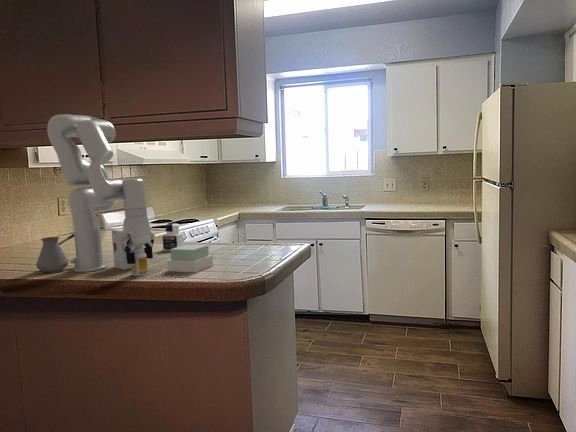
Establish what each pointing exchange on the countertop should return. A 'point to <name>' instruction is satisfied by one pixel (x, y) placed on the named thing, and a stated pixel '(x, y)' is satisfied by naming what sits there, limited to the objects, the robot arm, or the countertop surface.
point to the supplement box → (120, 250)
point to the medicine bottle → (172, 237)
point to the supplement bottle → (139, 262)
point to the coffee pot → (52, 255)
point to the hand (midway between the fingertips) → (140, 260)
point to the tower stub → (190, 258)
